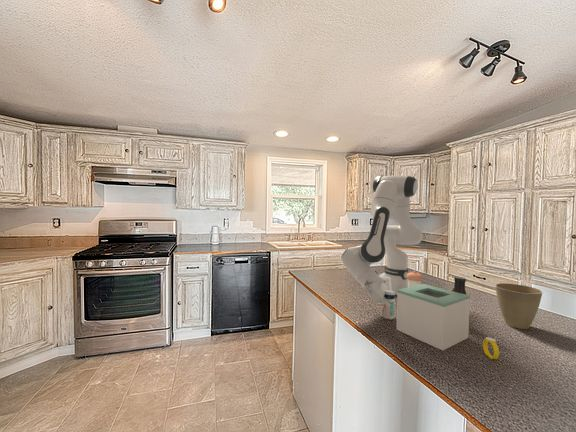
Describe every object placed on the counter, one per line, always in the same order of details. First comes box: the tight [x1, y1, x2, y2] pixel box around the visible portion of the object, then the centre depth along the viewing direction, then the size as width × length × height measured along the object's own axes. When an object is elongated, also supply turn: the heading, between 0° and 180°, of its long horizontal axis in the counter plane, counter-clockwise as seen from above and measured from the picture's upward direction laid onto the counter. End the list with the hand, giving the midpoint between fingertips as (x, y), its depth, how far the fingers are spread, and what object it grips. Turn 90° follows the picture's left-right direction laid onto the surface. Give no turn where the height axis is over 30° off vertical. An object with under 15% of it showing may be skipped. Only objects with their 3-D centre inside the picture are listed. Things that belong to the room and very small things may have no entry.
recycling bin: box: [396, 283, 471, 351], centre depth 101 cm, size 18×18×16 cm
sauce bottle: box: [451, 276, 468, 295], centre depth 110 cm, size 7×6×20 cm
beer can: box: [382, 290, 396, 320], centre depth 116 cm, size 5×5×12 cm
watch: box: [482, 336, 500, 360], centre depth 86 cm, size 6×3×6 cm, turn 173°
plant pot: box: [494, 282, 543, 330], centre depth 110 cm, size 15×15×16 cm
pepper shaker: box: [407, 270, 424, 287], centre depth 124 cm, size 7×7×19 cm
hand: (390, 303), depth 115 cm, fingers closed on beer can, 5 cm apart
